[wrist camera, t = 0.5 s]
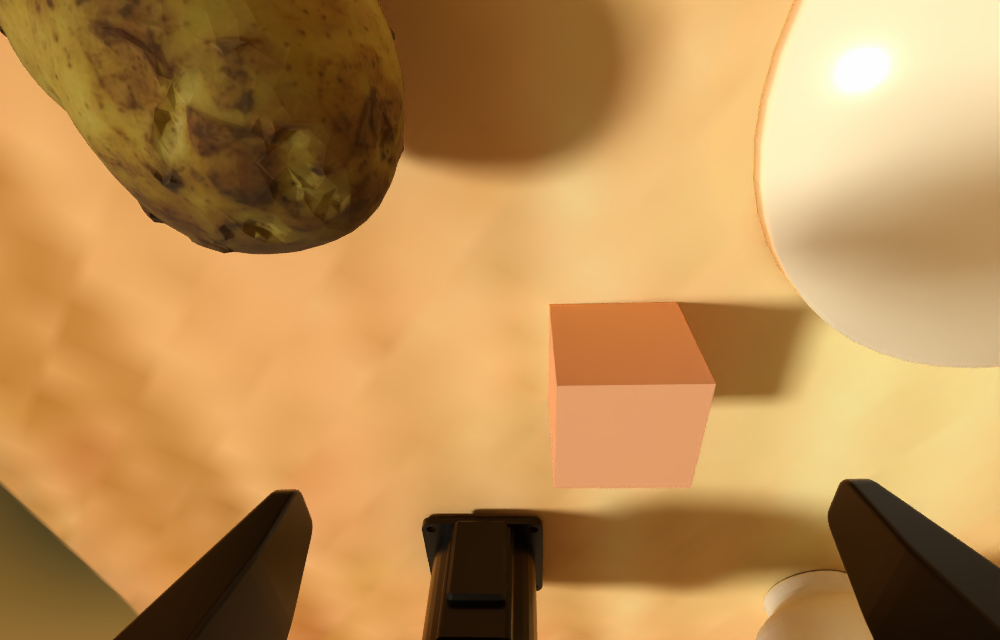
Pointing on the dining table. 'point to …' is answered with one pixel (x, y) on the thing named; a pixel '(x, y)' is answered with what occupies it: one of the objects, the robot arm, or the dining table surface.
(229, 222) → the potato
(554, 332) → the block
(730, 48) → the dining table surface
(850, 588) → the teacup
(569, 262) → the dining table surface
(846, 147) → the plate
